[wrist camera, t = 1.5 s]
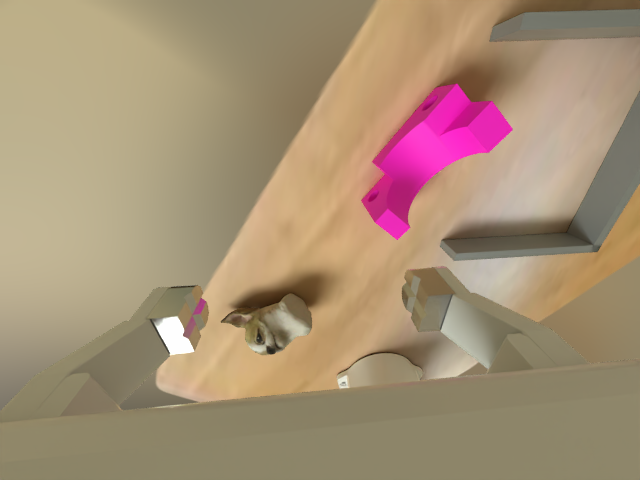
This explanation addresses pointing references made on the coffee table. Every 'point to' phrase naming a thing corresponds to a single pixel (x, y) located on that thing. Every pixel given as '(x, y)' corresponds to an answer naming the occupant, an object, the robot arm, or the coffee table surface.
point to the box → (617, 168)
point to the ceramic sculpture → (273, 324)
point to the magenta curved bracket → (430, 151)
